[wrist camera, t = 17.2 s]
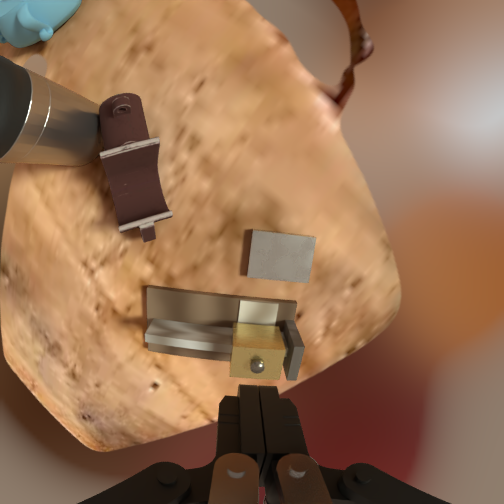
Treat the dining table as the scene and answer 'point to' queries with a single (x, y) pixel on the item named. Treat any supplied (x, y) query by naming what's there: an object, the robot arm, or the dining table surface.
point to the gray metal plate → (280, 256)
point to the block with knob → (256, 351)
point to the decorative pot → (33, 19)
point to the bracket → (132, 165)
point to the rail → (216, 324)
